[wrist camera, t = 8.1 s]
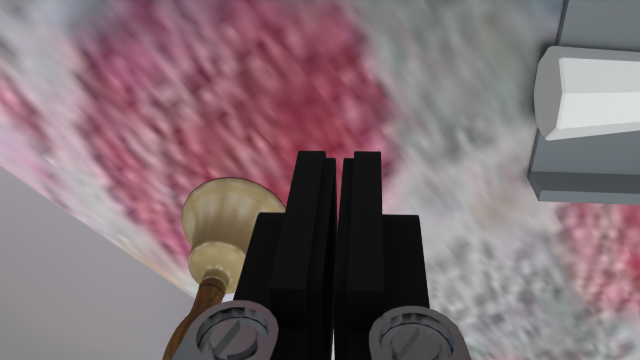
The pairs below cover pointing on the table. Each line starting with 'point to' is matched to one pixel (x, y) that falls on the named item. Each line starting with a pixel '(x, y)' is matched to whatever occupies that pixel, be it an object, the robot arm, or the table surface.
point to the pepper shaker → (587, 92)
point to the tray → (599, 150)
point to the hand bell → (219, 240)
